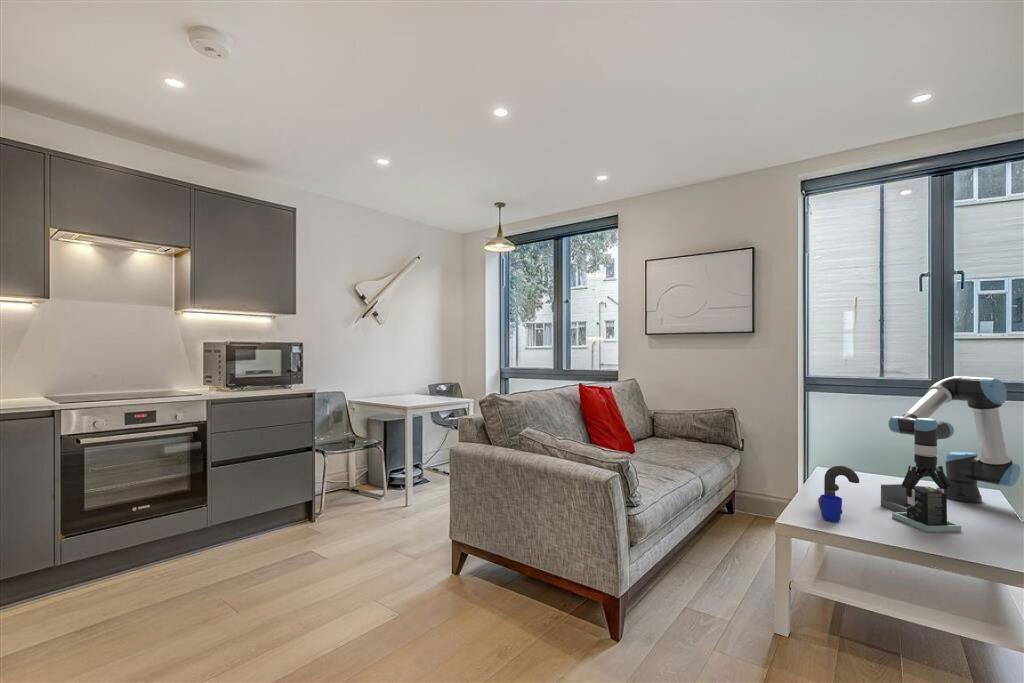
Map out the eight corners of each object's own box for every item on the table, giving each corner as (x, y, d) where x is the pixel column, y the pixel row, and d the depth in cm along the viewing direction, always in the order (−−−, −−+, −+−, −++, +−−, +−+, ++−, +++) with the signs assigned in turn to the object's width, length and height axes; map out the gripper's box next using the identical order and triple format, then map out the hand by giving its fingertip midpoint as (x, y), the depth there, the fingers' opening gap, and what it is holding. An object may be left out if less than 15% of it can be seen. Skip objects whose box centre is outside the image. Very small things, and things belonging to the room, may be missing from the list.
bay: (907, 504, 235) (907, 483, 235) (937, 515, 220) (937, 493, 220) (880, 505, 234) (880, 484, 234) (908, 516, 219) (908, 494, 219)
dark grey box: (947, 528, 203) (948, 493, 203) (923, 527, 204) (923, 492, 204) (929, 519, 214) (929, 485, 214) (906, 518, 215) (906, 484, 215)
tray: (923, 517, 218) (923, 511, 218) (961, 531, 201) (961, 525, 201) (892, 517, 217) (892, 512, 217) (927, 532, 200) (927, 526, 200)
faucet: (862, 516, 218) (862, 472, 219) (820, 510, 226) (820, 467, 226) (857, 505, 234) (857, 463, 234) (818, 499, 242) (818, 459, 242)
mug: (836, 515, 220) (836, 493, 220) (844, 524, 209) (844, 501, 209) (815, 512, 223) (815, 491, 223) (822, 522, 212) (822, 499, 212)
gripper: (943, 452, 214) (943, 500, 214) (891, 453, 212) (891, 501, 212) (960, 455, 207) (960, 505, 207) (906, 457, 204) (906, 507, 204)
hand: (925, 503), depth 209 cm, fingers open, 13 cm apart
